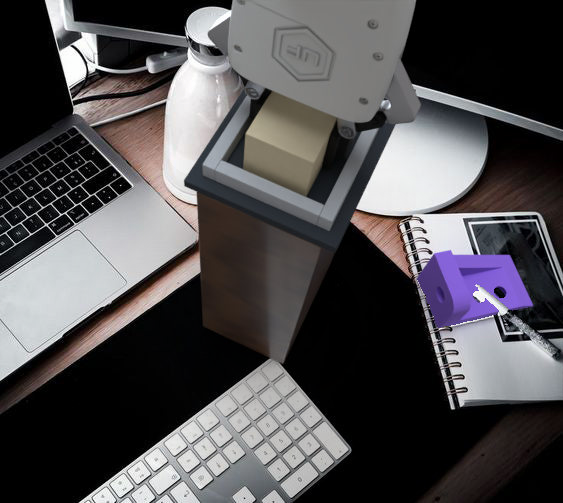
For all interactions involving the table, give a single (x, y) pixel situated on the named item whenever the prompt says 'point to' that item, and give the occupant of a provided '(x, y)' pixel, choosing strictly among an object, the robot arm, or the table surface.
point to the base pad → (278, 200)
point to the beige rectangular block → (287, 143)
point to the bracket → (469, 286)
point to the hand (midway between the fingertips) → (299, 138)
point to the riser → (255, 278)
